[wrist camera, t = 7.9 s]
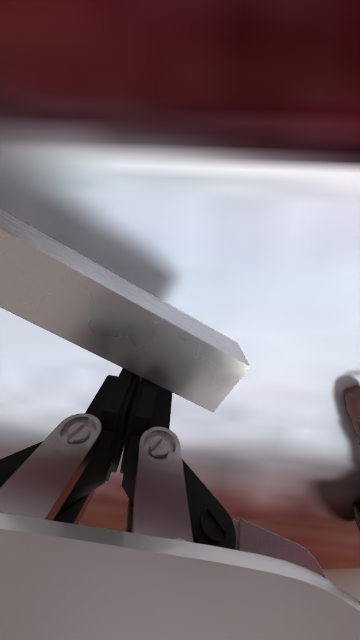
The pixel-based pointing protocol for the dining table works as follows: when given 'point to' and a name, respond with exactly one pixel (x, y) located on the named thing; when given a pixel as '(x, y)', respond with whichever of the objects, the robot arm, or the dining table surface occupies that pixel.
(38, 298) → the swing arm
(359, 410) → the black dustpan
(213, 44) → the dining table surface
